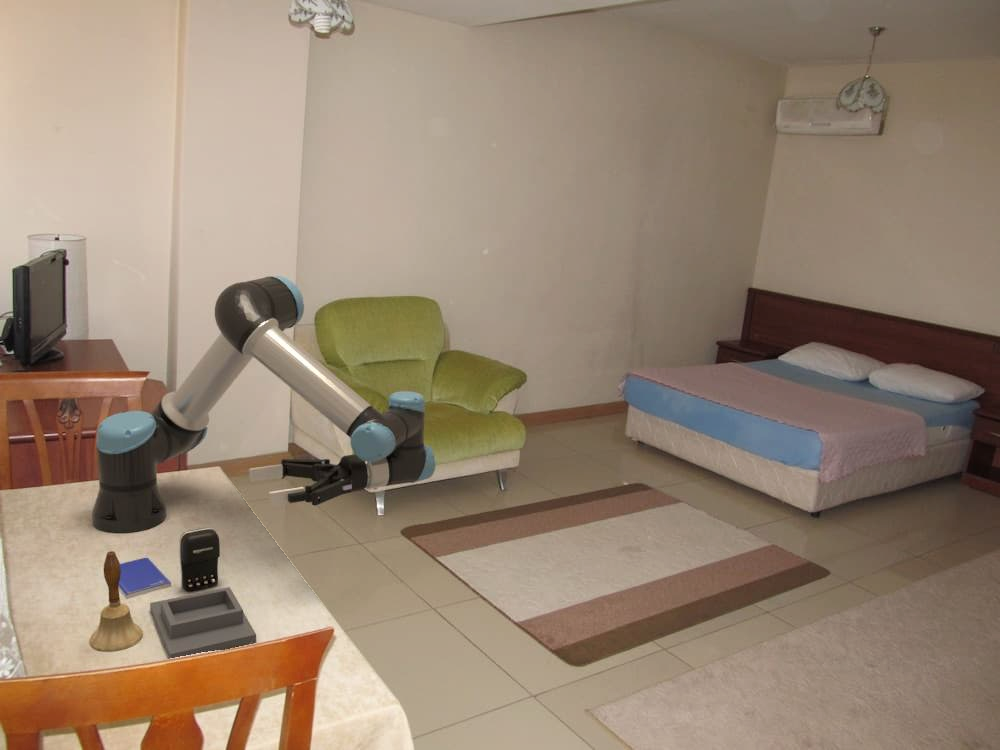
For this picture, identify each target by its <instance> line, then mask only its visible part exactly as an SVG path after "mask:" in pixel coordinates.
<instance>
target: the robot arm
mask: <svg viewBox="0 0 1000 750" xmlns="http://www.w3.org/2000/svg"><path fill="white" fill-rule="evenodd" d="M304 311H305V304H304V297H303V295H302V292H301V290H300V289H299V287H298V286H297V285H296V284H295V283H294V281H292V280H290V279H288V278H286V277H283V276H277V275H276V276H274V275H268V276H265V277H262V278H257V279H256V278H255V279H252V280H246V281H241V282H235V283H233V284H230V285H228V286H227V287H225V288H224V290H223V291H221V292H220V294H219V295H218V297H217V299H216V301H215V305H214V319H215V322H216V326H217V327H218V330H219V331H220V332H221V333H220V334H219V335H218V336H217V338H216V339H215V340H214V342H213V343H212V344H211V346H210V347H209V348H208V349H207V351H206V352H205V354H204V355H203V356H202V357H201V359H200V360H199V361H198V362H197V364H196V365H195V366H194V368H193V369H192V371H190V373H189V374H188V376H187V377H186V378H185V379H184V381H183V382H182V384H181V385H180V386H179V387H178V389H177V390H176V391H170V392H168V393H166V394H164V395H163V397H162V398H161V399H160V401H159V402H158V403H157V405H156V406H155V407H154V408H153V409H152V410H151V411H150V412H147V411H142V410H129V411H125V412H118V413H115V414H112V415H109V416H107V417H106V418H105V419H103V420H102V421H101V422H100V423H99V425H98V427H97V433H96V434H97V435H96V436H97V437H96V440H95V441H96V442H95V444H96V449H97V452H96V453H97V465H98V466H97V467H98V479H99V481H98V483H99V489H98V493H97V495H96V499H95V503H94V505H93V509H92V512H91V516H92V517H91V518H92V519H91V520H92V525H93V526H94V527H95V528H96V529H98V530H101V531H105V532H109V533H110V532H111V533H132V532H133V533H134V532H139V531H144V530H147V529H150V528H153V527H155V526H158V525H160V524H161V523H162V522H164V520H165V519H166V518H167V506H166V503H165V499H164V497H163V496H162V493H161V490H160V488H159V486H158V479H157V477H158V476H157V465H159V464H161V463H162V464H163V463H164V462H166V461H168V460H170V459H173V458H175V457H177V456H180V455H181V454H185V453H188V452H190V451H192V450H193V449H195V448H196V447H198V446H199V445H200V444H201V443H202V442H203V441H204V439H205V438H206V435H207V433H208V426H209V425H208V424H209V422H210V416H209V413H210V412H211V411H212V409H213V408H214V407H215V406H216V404H217V403H218V401H219V400H220V399H221V398H222V397H223V395H225V393H226V392H227V391H228V389H229V388H230V386H232V384H233V383H234V382H235V380H236V379H237V378H238V377H239V376H240V374H241V373H242V372H243V370H245V368H246V367H247V365H248V364H249V363H250V362H251V361H252V359H253V358H254V359H256V361H258V362H259V363H260V364H261V365H263V366H264V367H265V368H266V369H267V370H268V371H270V372H271V373H272V374H273V375H275V376H276V377H277V378H278V379H279V380H280V381H282V382H283V383H284V384H285V385H287V387H289V388H290V389H291V390H292V391H294V392H295V393H296V394H297V395H299V396H300V397H301V398H302V399H303V400H304V401H306V402H307V403H308V404H309V405H310V406H311V407H313V408H314V409H316V411H318V412H319V413H320V414H321V415H323V417H325V418H326V419H327V420H328V421H330V422H331V423H332V424H333V425H334V426H336V427H337V428H338V429H339V430H340V431H342V432H343V434H345V435H346V436H348V438H350V447H351V449H352V451H353V454H348V455H343V456H342V457H341V458H340V459H339V463H338V464H333V463H331V460H330V459H329V458H324V459H295V458H294V459H292V458H291V459H290V458H286V459H285V458H284V459H281V463H279V464H273V465H272V464H271V465H265V466H260V467H259V466H257V467H250V468H249V469H248V471H249V483H257V482H262V481H263V482H265V481H269V480H277V479H282V480H283V479H284V478H286V477H294V478H303V479H309V480H310V479H311V480H312V481H313V482H314V483H313V484H311V485H304V487H305V488H304V487H303V486H300V487H295V488H294V487H293V488H287V489H286V488H285V489H279V490H273V491H269V492H268V506H269V507H270V508H272V507H278V506H283V505H284V506H285V505H290V504H297V503H304V502H305V503H311V506H319V505H321V504H323V503H325V502H328V501H330V500H332V499H335V498H337V497H339V496H342V495H344V494H345V495H346V494H349V493H353V492H361V491H364V490H365V489H366V490H371V489H373V490H375V491H376V490H378V488H383V487H388V486H389V487H390V486H396V485H403V484H404V485H405V484H413V483H417V482H421V481H425V480H429V479H430V478H432V477H433V475H434V473H435V470H436V460H435V454H434V451H433V449H432V448H431V446H430V445H427V444H424V440H425V439H424V438H425V419H426V417H425V416H426V408H425V407H426V406H425V404H426V403H425V397H424V396H423V395H422V394H421V393H418V392H416V391H415V392H414V391H406V390H405V391H404V390H403V391H396V392H393V393H391V394H390V395H389V397H388V404H387V407H388V410H386V411H384V412H382V413H381V412H380V411H379V410H377V409H376V408H375V407H373V406H372V405H371V404H370V403H369V402H367V401H366V400H365V399H364V398H362V397H361V396H360V395H359V394H358V393H357V392H355V391H354V390H353V389H352V388H351V387H349V385H347V384H346V383H345V382H344V381H343V380H341V379H340V378H339V377H337V376H336V375H335V374H334V373H333V372H332V371H330V370H329V369H328V368H327V367H326V366H324V365H323V364H322V363H321V362H320V361H318V360H317V359H316V358H315V357H314V356H312V355H311V354H310V353H309V352H308V351H307V350H305V348H303V347H302V346H301V345H300V344H299V343H297V342H296V341H295V340H294V339H292V338H291V337H290V336H289V335H287V334H286V333H285V332H284V331H285V330H286V329H291V328H293V327H294V326H296V325H297V324H298V323H299V322H300V321H301V319H302V318H303V316H304Z"/></svg>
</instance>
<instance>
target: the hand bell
mask: <svg viewBox="0 0 1000 750" xmlns="http://www.w3.org/2000/svg"><path fill="white" fill-rule="evenodd" d="M120 564H121V563H120V561H119V559H118V556H117V554H116V552H115V551H107V552H106V557H105V559H104V563H103V576H104V580H105V583H106V584H107V585H106V586H107V587H108V603H109V605H107V606H105V607H103V608H102V610H101V612H100V619H99V624H98V627H97V629H96V630H95V631H94V632H93V633H92V634H91V636H90V638H89V645H90V646H91V647H92V648H93V649H95V650H97V651H99V652H100V651H101V652H117V651H122V650H126V649H128V648H130V647H133V646H134V645H136V644H138V643H139V641H141V639H142V638H143V635H144V631H143V629H142V627H141V626H140V625H138V624H136V623H135V622H134V621H133V617H132V615H131V609H130V607H129V605H127V604H126V603H121V598H120V589H119V588H118V585H119V581H120V576H121V568H120Z"/></svg>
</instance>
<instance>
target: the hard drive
mask: <svg viewBox="0 0 1000 750" xmlns="http://www.w3.org/2000/svg"><path fill="white" fill-rule="evenodd" d="M120 568H121V576H120V581H119V585H118V589H119V591H120V592H121V593H122V594H123V596H125V598H126V599H130V598H134V597H138V596H141V595H145V594H148V593H152V592H156V591H159V590H163V589H164V590H165V589H166V588H170V587H172V582H171V580H170V579H168V577H166V575H165V574H164V573H163V572H162V571H161V570H160V569H159V568H158V567H157V565H155V564H154V562H152V561H151V560H150V558H149V557H143V558H138V559H134V560H130V561H126V562H123V563H120Z"/></svg>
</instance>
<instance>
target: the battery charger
mask: <svg viewBox="0 0 1000 750" xmlns="http://www.w3.org/2000/svg"><path fill="white" fill-rule="evenodd" d="M220 545H221V544H220V538H219V535H218V533H217V531H216V529H214V528H213V527H203V528H196V529H192V530H191V529H190V530H187V531H184V532H182V534H181V536H180V538H179V562H180V574H181V575H180V576H181V578H180V579H181V583H180V586H181V587H182V589H183V590H184V591H187V592H193V591H199V590H203V589H207V588H211V587H212V588H213V587H214V586H217V585H218V584H219V572H218V570H219V567H218V566H219V557H220V556H221V549H220V548H221V547H220Z"/></svg>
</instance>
